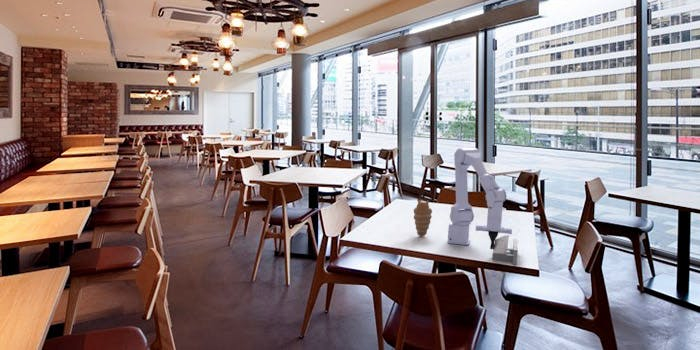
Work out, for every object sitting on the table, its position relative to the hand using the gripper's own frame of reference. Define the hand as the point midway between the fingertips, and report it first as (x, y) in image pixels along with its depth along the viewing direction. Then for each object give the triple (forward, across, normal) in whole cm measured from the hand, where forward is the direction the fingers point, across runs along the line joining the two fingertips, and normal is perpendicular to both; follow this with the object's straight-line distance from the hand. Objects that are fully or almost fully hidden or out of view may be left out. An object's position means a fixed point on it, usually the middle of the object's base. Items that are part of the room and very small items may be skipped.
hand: (492, 248), depth 196 cm
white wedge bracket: (+3, +4, -1) cm, 5 cm away
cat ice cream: (+3, -34, +20) cm, 39 cm away
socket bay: (+3, +4, 0) cm, 5 cm away
